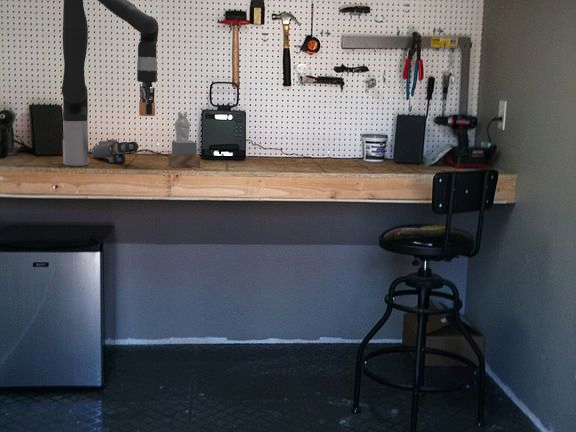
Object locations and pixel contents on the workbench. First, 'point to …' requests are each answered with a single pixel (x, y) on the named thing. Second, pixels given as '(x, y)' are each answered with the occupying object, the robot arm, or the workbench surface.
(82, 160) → the robot arm
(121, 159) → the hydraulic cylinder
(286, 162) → the workbench surface
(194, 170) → the workbench surface
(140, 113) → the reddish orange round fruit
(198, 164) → the tower base
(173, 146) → the grey square block
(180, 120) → the grey figurine
